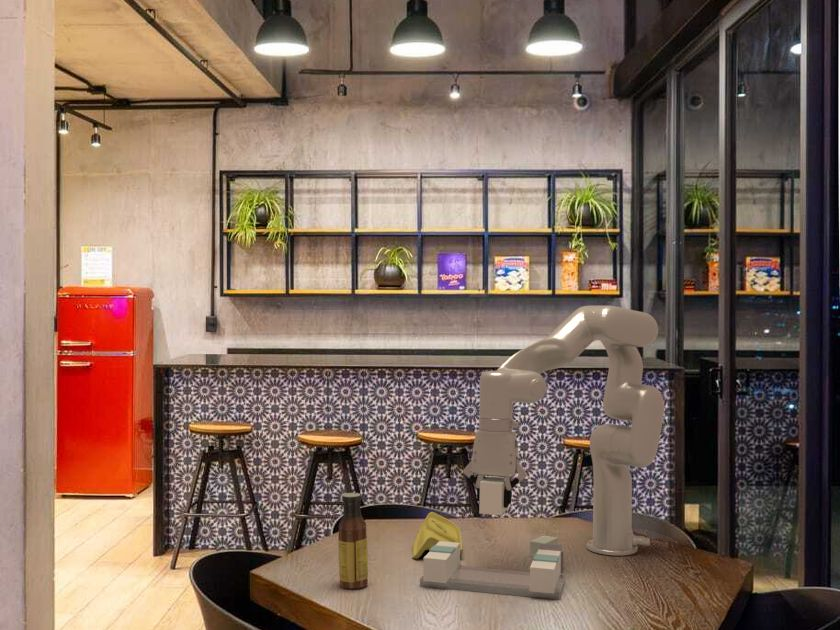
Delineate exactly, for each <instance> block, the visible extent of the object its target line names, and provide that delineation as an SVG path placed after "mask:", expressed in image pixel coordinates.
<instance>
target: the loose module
mask: <svg viewBox="0 0 840 630" xmlns="http://www.w3.org/2000/svg"><path fill="white" fill-rule="evenodd" d="M505 487H506V486H505V482H504V478H503V477H498V476H485V477H484V478H483V479H482V481H481V482H480V503H479V502H478V507H479V510H478V511H479V512H478V514H479V515H480V514H481V515H482V514H483V515H490V516H502V515H503V514H504V513H505V512H506V511H507V510H508V509H509V506H508V507H507V508H504V490H505Z"/></svg>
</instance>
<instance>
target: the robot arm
mask: <svg viewBox="0 0 840 630" xmlns="http://www.w3.org/2000/svg"><path fill="white" fill-rule="evenodd" d="M658 335H659V326H658V323H657V320H656V319H655V318H654V316H652V315H651V314H649V313H648V312H645V311H639V310H635V309H629V308H625V307H620V306H615V305H584V306H580V307H579V308H576V310H574V311H573V312H572V313H571V314H570V315H568V317H567V318H566V319H564V320H563V321H562V322H561V323H560V324H559V325H558V326H557V327H556V328H555V329H554V330H552V332H551V333H550V334H548V335H547V336H546V337H544V338H542V339H541V340H538V341H536V342H534V343H532V344H530V345H528V346H526V347H524V348H523V349H520V350H519V351H517V352H516V353H514V354H512V355H511V356H510V357H509V358H507V360H505V361H503V363H502V364H501V365H500V366H499V367H498V368H497V369H496V370H488V371H487V370H486V371H483V372H482V373H481V374H480V379H479V413H478V414H479V415H478V419H479V421H478V429H477V430H476V432H475V436H474V441H473V449H472V457H471V458H472V459H471V460H470V462H469V463H468V464H467V465H466V466H465V467H464V468H463V470H462V473H463V474H464V475H465V476H466V477H467V478H469V480H470V481H471V483H473V485H475V488H476V501H477V502H478V504H479V503H480V482H481V481H482V479H483V478H484V477H487V476H493V477H503V478H504V482H505V486H506V487H505V490H504V508H507V507H508V508H509V507H510V505H511V504H512V499H513V498H512V495H513V493H512V492H513V488H514V487H515V486H517V485H518V484H519V483H520V482H521V481H523V480H524V479H526V478H527V477H528V474H527V472H526V471H525V469H524V468H523V466H522V465H521V464H520V462H519V447H518V439H517V438H518V437H517V432H516V431H513V430H514V429H515V428H519V426H520V425H519V424H520V422H519V421H516V420H514V418H513V407H514V406H513V405H514V404H513V403H523V404H534V403H537V402H539V401H541V400H542V399H543V398H544V396H545V395H546V393H547V389H548V388H547V387H548V385H547V381H546V380H545V378H544V376H542V375H541V374H540V373H543V372H546V371H551V370H555V369H559V368H562V367H566V366H567V365H568V366H569V365H570V364H572V363H573V362H574V361H575V360H576V359H577V358H578V357H579V356H580V355H581V354H582V353H583V352H584V351H585V350H586V349H587V348H588V347H589V346H591V344H592V343H593V342H594V341H600V343H601V344H602V345H603V347H604V349H605V351H606V354H607V356H608V362H609V364H608V365H609V366H608V372H607V378H606V384H605V389H604V395H603V401H602V408H603V412H604V414H605V415H606V416H607V417H609V418H612V419H613V420H614V419H615V420H619V421H625V422H631V426H628V425H622V424H614V423H605V424H601V425H599V426H597V427H595V428H594V429H593V431H592V432H591V434H590V437H589V451H590V455H591V456H590V457H591V462H592V472H593V476H592V477H593V489H592V492H593V494H592V495H593V496H592V497H593V499H592V500H593V501H592V502H593V504H592V507H593V508H592V510H593V511H592V539H589V540H588V541H587V542H586V548H587V550H588V551H590V552H593V553H596V554H599V555H606V556H615V557H616V556H619V557H620V556H622V557H623V556H630V555H634V554H636V553H637V552H638V550H639V549H638V546H639V545H640V546H644V547H650V546H651V539H650V538H649V537H645V536H643V535H640V536H638V535H636V534H634V530H633V529H632V523H633V522H632V515H633V514H632V510H633V509H632V507H633V506H632V503H633V500H632V499H633V481H632V480H633V479H632V476H631V475H632V474H631V471H630V469H629V467H628V466H630V467H635V468H646V467H648V466H651V464H652V463H653V461H654V460H655V458H656V456H657V452H658V448H659V444H660V437H661V433H662V426H663V421H664V414H665V402H664V401H665V400H664V397H663V395H662V393H661V391H660V390H659V389H658V388H656V387H655V386H652V385H649V384H643V383H642V380H643V370H644V364H643V359H642V356H641V353H640V352H639V349H638V348H646V347H649V346H651V345H652V344H653V343H654V342H655V341H656V339H657V338H658ZM516 474H518V475H517V476H516V477H515V478H513V479H512V477H514V476H515V475H516Z"/></svg>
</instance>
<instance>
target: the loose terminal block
mask: <svg viewBox="0 0 840 630" xmlns="http://www.w3.org/2000/svg"><path fill="white" fill-rule="evenodd" d="M558 539H559V538H558V537H554V536H549V535H544V534H543V535H541V536H538V537H536V538H534V539H532V540H530V541H529V557H530V556H531V557H530V558H533V557H534V556H535V554H537V551H538V549H540V544H550V545H559V543H558V541H559V540H558Z"/></svg>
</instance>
